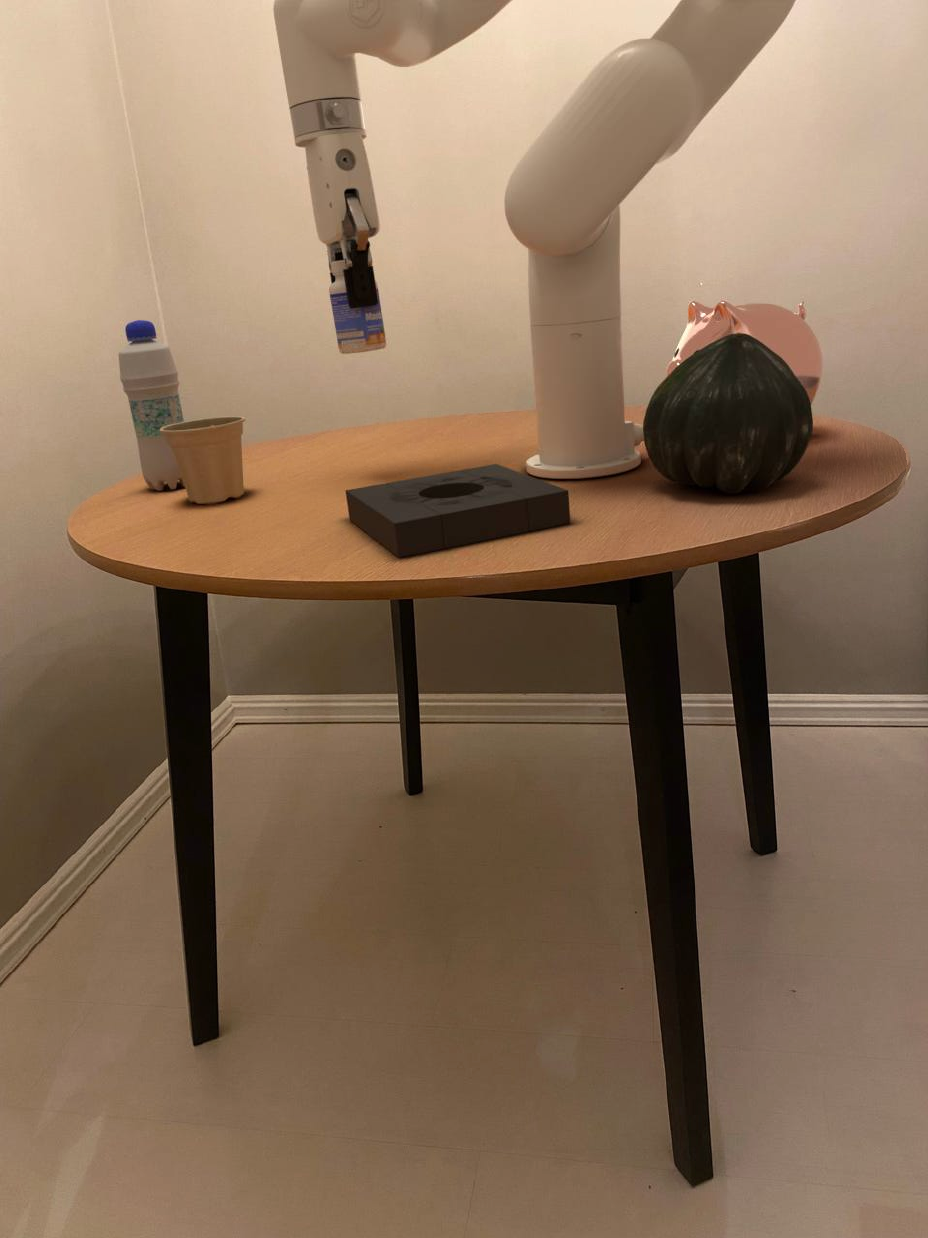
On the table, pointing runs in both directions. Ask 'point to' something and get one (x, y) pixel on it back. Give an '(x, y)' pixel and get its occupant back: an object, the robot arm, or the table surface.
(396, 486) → the pad
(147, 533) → the table surface
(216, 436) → the flower pot
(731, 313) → the piggy bank
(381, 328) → the pill bottle
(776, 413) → the squash
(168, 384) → the bottle
